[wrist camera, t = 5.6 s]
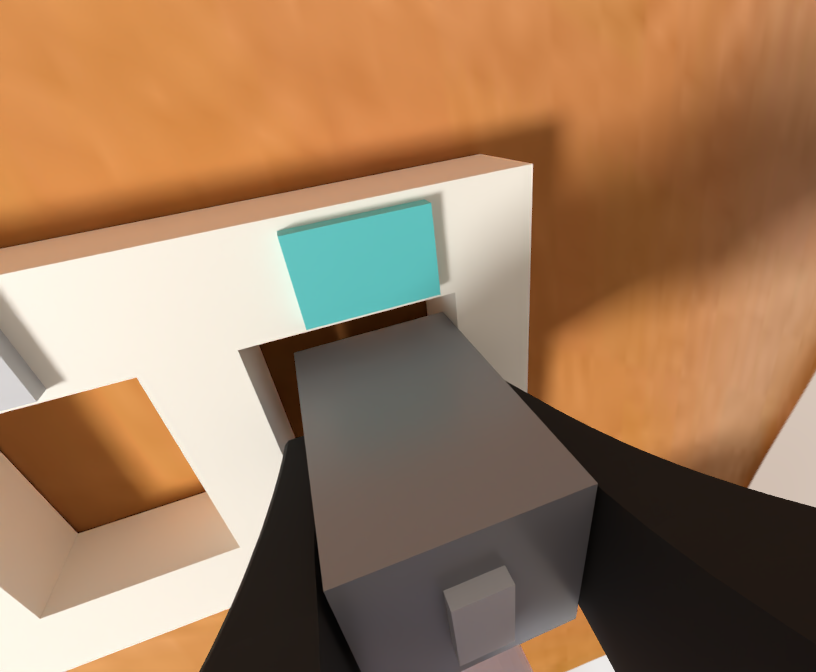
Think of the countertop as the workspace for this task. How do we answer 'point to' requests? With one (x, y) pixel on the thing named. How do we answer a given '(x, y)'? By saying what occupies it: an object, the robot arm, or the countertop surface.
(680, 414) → the countertop surface
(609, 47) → the countertop surface
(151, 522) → the socket board
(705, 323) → the countertop surface
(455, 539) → the plug
